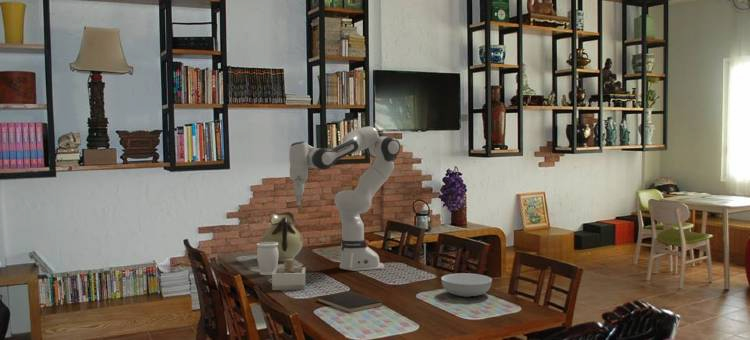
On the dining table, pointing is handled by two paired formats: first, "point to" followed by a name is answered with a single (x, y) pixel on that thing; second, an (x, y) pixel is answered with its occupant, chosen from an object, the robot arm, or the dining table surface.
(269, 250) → the jar
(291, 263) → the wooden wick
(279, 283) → the white square box
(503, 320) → the dining table surface
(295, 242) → the beige rounded piece
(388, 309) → the dining table surface
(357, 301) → the hardcover book
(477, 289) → the serving bowl
